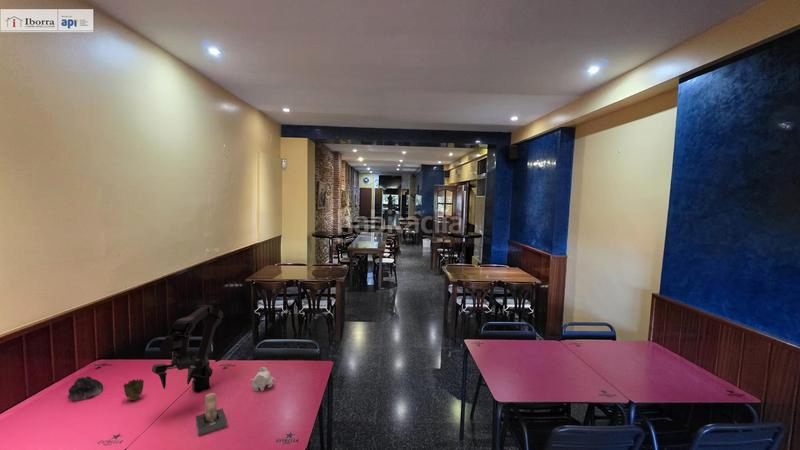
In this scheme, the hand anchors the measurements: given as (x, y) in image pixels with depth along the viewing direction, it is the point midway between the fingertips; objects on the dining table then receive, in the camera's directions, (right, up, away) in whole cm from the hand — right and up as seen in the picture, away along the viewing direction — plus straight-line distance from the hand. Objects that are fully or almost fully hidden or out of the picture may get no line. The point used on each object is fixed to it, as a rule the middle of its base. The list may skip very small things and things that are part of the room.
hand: (176, 386), depth 153 cm
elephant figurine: (+30, -11, +21) cm, 38 cm away
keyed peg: (+20, -12, -8) cm, 25 cm away
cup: (-25, -10, +9) cm, 29 cm away
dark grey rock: (-51, -10, +13) cm, 53 cm away
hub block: (+20, -12, -8) cm, 25 cm away
